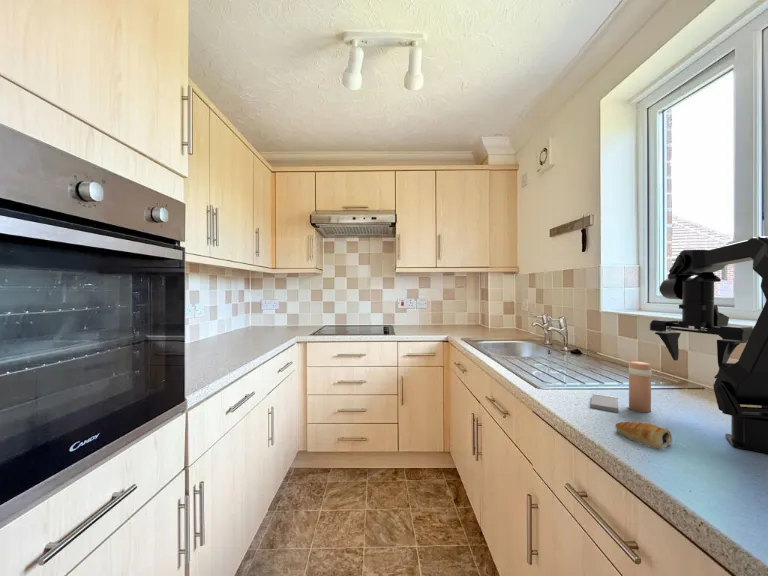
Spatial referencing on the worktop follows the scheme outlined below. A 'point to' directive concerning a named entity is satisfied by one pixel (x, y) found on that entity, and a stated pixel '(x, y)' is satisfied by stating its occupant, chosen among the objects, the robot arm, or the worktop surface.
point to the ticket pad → (604, 402)
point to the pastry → (645, 434)
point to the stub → (640, 386)
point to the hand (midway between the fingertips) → (697, 364)
